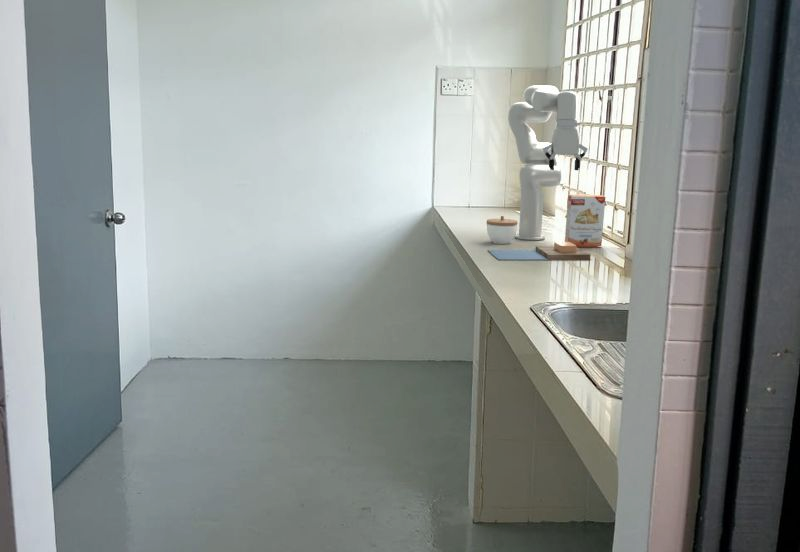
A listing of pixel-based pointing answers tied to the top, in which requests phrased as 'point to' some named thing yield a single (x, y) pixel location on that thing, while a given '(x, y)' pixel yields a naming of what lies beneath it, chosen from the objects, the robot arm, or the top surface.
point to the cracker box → (585, 220)
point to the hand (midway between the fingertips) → (564, 170)
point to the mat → (517, 255)
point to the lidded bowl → (501, 230)
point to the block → (565, 247)
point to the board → (562, 254)
